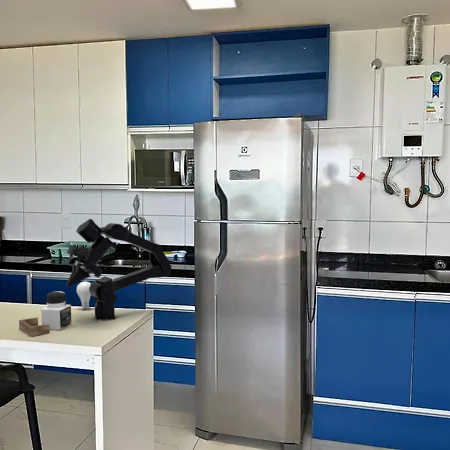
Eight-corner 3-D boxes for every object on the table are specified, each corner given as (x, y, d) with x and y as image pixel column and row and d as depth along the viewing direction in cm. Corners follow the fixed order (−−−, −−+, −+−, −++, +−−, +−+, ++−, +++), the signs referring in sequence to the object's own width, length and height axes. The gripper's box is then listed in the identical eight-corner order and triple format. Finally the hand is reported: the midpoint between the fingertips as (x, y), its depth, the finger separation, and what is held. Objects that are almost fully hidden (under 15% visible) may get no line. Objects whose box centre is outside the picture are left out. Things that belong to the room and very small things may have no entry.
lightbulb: (76, 308, 188) (75, 280, 188) (92, 306, 191) (92, 279, 190) (77, 311, 183) (77, 283, 182) (94, 310, 185) (94, 282, 184)
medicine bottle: (60, 330, 158) (59, 295, 157) (41, 329, 159) (40, 294, 159) (71, 324, 165) (70, 290, 164) (53, 323, 166) (52, 289, 166)
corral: (37, 325, 164) (37, 317, 164) (49, 333, 155) (49, 324, 155) (19, 328, 160) (19, 320, 160) (30, 336, 151) (30, 327, 151)
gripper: (71, 234, 173) (41, 267, 167) (92, 238, 159) (61, 274, 153) (91, 253, 179) (63, 286, 173) (114, 259, 165) (84, 295, 159)
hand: (67, 285), depth 164 cm, fingers closed
